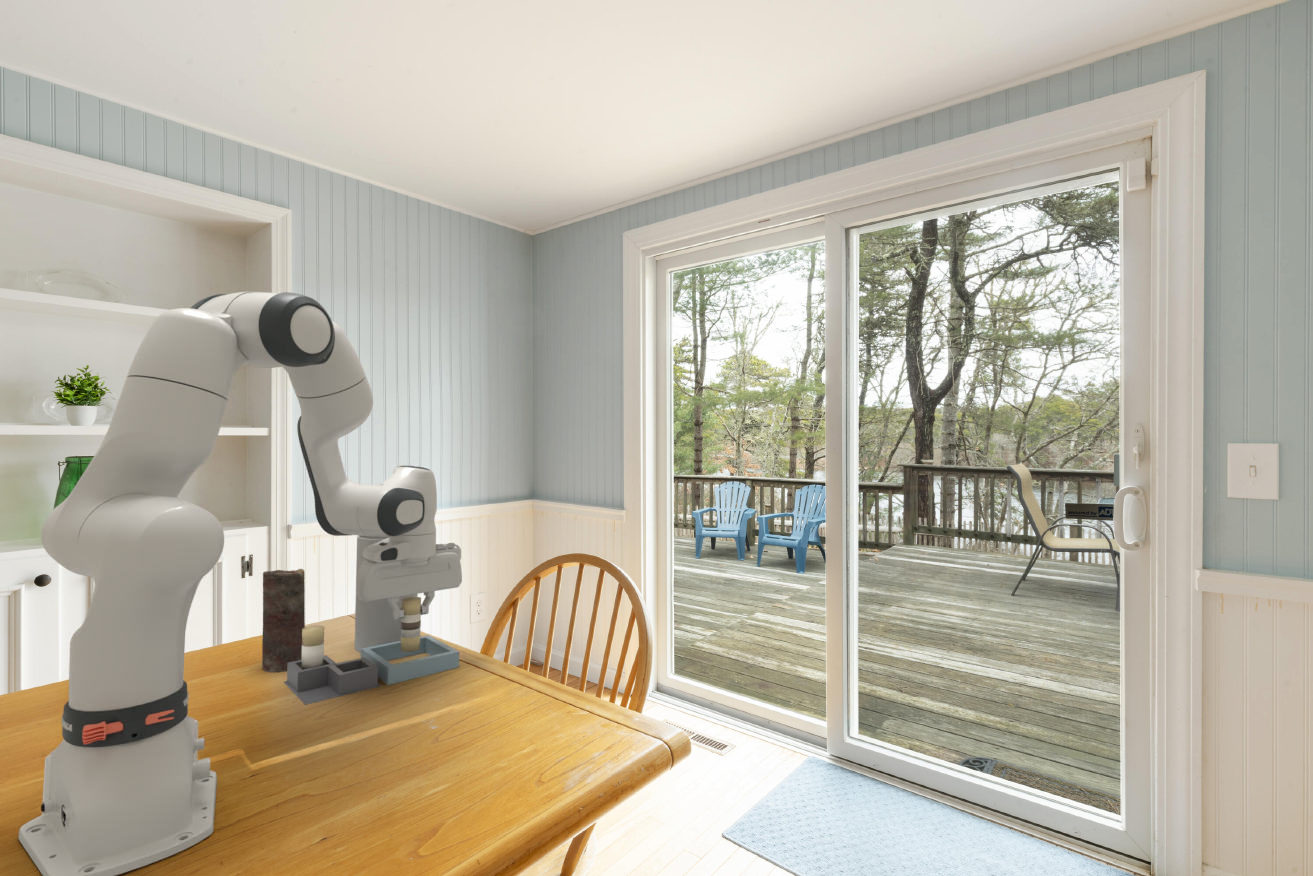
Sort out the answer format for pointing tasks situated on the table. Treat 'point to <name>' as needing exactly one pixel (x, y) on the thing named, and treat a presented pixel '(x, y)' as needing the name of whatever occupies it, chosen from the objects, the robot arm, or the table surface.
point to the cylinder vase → (374, 610)
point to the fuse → (312, 647)
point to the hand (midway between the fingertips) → (411, 616)
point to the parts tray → (390, 674)
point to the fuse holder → (331, 679)
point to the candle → (282, 618)
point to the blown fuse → (411, 624)
